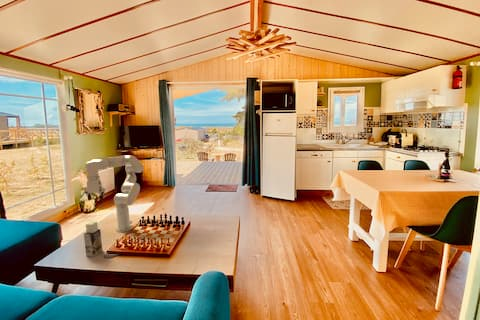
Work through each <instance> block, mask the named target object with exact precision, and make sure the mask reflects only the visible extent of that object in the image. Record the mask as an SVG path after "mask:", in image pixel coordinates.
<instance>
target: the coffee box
mask: <svg viewBox="0 0 480 320" xmlns="http://www.w3.org/2000/svg"><path fill="white" fill-rule="evenodd" d="M83 240H84V247H85V256H86V257H95V256H97V255H98V254H100V253H101V252H102V251H103V244H102V243H103V242H102V233H101V229H99V228H98V230H97V231H96V232H94V233H87V232H85V233H84V234H83Z"/></svg>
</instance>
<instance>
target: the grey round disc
mask: <svg viewBox="0 0 480 320" xmlns="http://www.w3.org/2000/svg"><path fill="white" fill-rule="evenodd" d="M108 253H109V252H107V253H105V254H103V258H105V259H113V258H115V257H117V256H119V253H118V254H108Z"/></svg>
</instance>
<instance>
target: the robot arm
mask: <svg viewBox="0 0 480 320" xmlns="http://www.w3.org/2000/svg"><path fill="white" fill-rule="evenodd" d="M122 166H123V167H124V166H125V172H126V177H125V180H124V182H123V183H122V185H121V188H120V190H121V192H120V193H116V194H115V195H114V197H113V203H114V205H115V210H116V222H117V228H116V232H119V233H124V232H128V231H130V230H132V229H133V225H131V224H132V223H133V221H132V220H130V212H129V206H131V205H133V204H134V203H135V202H136V200H137V197H138V196H139V193H140V190H141V186H140V184H139V183H137V176H136V174H137V173H142V172H143V171H144V170H145V168H144V164H143V163H142V162H141V161H140V160H139V159H138V158H137V157H136V156H134V155H125V154H123V155H119V156H118V155H117V156H112V157H110V156H109V157H105V158H104V157H102V158H94V159H91V160H90V161H87V162H85V168H86V176H87V180H86V188H84V189H83V191H84V194H86V196H87V201H92V194H99V196H98V197H99V201H103V200H104V194H105V193H106V190H107V189H106V188H105V187H103V184H102V181H101V179H100V178H101V176H100V175H99V171H100V170H101V171H104V170H107V168H118V167H122Z"/></svg>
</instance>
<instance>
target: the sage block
mask: <svg viewBox="0 0 480 320" xmlns="http://www.w3.org/2000/svg"><path fill="white" fill-rule="evenodd" d="M98 226H99V225H98V222H97V221H89V222H87V223H86V224H85V229H86V233H94V232H96V231H97V230H98V229H99V227H98Z"/></svg>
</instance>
